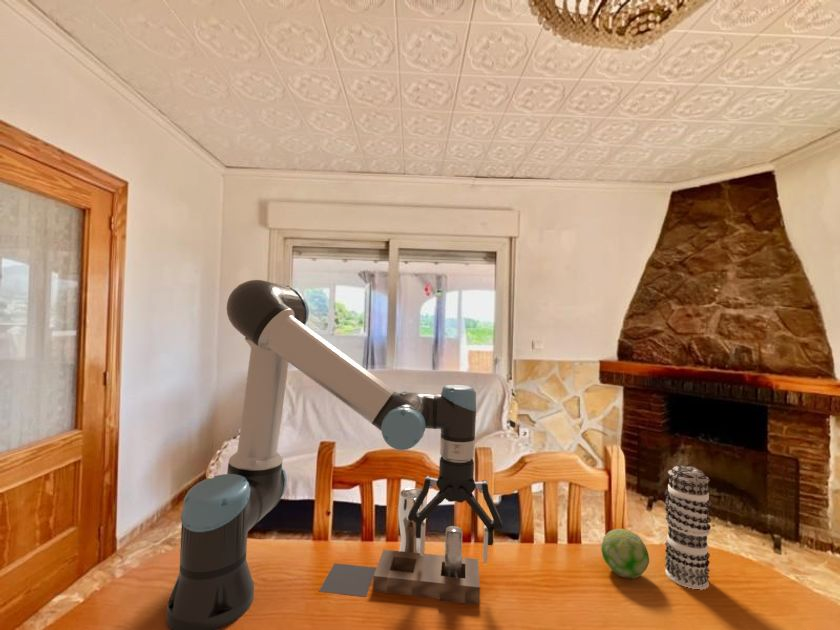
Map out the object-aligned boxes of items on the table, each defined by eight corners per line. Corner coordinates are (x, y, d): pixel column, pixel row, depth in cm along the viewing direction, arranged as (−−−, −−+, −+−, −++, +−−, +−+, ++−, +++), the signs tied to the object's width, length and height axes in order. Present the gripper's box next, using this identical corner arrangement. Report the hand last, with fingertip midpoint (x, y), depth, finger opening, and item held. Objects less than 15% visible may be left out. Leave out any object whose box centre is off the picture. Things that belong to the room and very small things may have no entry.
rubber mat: (318, 593, 83) (318, 591, 83) (334, 564, 93) (334, 563, 93) (365, 598, 82) (365, 596, 82) (376, 569, 92) (376, 567, 92)
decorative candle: (661, 580, 92) (663, 469, 92) (664, 561, 99) (666, 459, 100) (711, 597, 86) (713, 479, 87) (710, 575, 94) (712, 468, 95)
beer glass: (422, 565, 94) (424, 500, 94) (393, 561, 95) (395, 497, 96) (427, 549, 101) (429, 489, 101) (400, 545, 102) (402, 486, 103)
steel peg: (443, 590, 85) (445, 533, 86) (444, 580, 89) (446, 525, 89) (460, 592, 85) (462, 535, 85) (460, 581, 89) (462, 526, 89)
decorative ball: (621, 590, 87) (622, 544, 88) (591, 564, 97) (592, 522, 97) (659, 585, 90) (660, 540, 90) (626, 559, 99) (627, 519, 100)
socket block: (372, 592, 84) (373, 575, 84) (382, 564, 94) (383, 549, 94) (479, 604, 81) (479, 587, 81) (477, 574, 91) (478, 559, 91)
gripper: (397, 458, 85) (393, 559, 85) (517, 467, 83) (514, 572, 82) (403, 447, 93) (399, 540, 92) (513, 456, 90) (509, 552, 89)
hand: (453, 555), depth 87 cm, fingers open, 13 cm apart
